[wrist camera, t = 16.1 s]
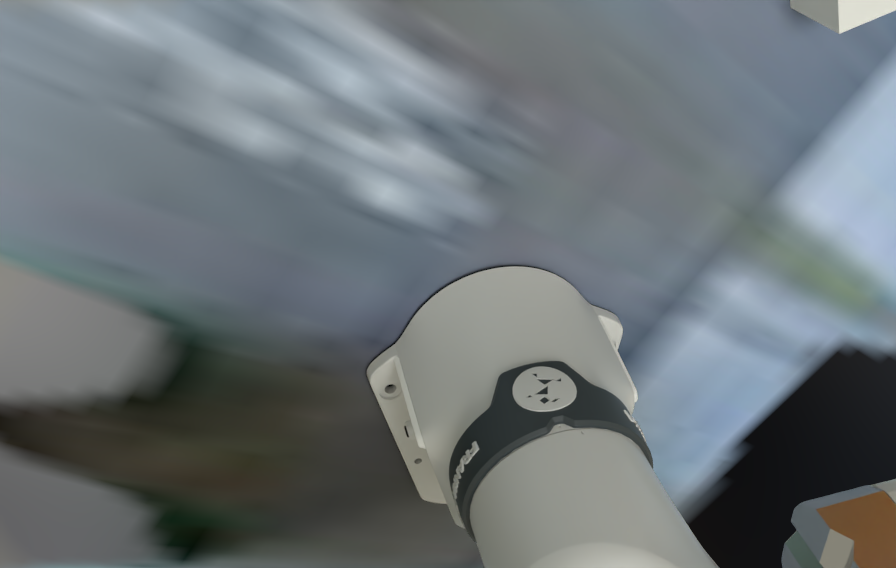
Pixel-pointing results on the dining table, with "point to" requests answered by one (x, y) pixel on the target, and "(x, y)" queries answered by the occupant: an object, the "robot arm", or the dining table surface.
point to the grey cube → (843, 11)
